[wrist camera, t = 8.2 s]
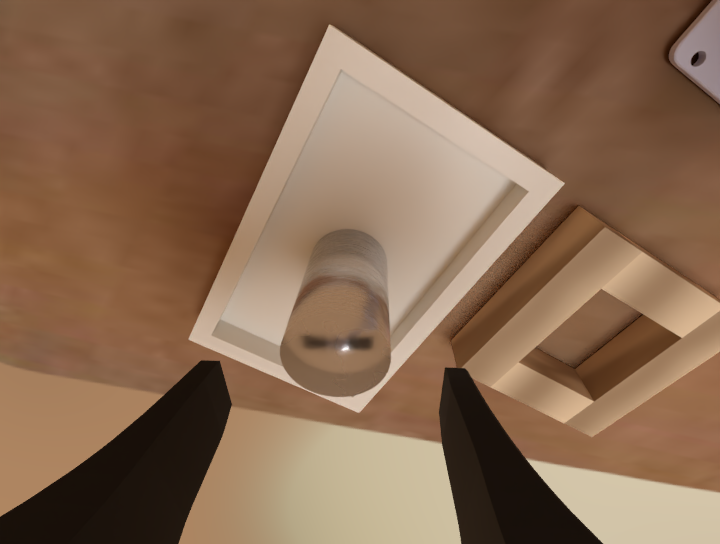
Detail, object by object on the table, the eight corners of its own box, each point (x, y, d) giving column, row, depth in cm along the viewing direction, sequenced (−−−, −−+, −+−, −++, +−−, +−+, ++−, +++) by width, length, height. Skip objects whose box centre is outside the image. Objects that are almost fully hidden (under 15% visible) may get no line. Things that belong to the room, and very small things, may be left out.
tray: (546, 169, 17) (564, 183, 16) (360, 387, 25) (359, 412, 24) (335, 27, 15) (329, 24, 13) (203, 317, 23) (188, 339, 21)
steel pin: (399, 280, 20) (408, 379, 14) (332, 306, 21) (314, 408, 15) (367, 216, 18) (361, 297, 12) (296, 247, 19) (258, 335, 13)
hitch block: (716, 297, 20) (756, 327, 18) (573, 403, 25) (591, 437, 23) (578, 205, 18) (605, 226, 16) (450, 340, 23) (457, 371, 21)
